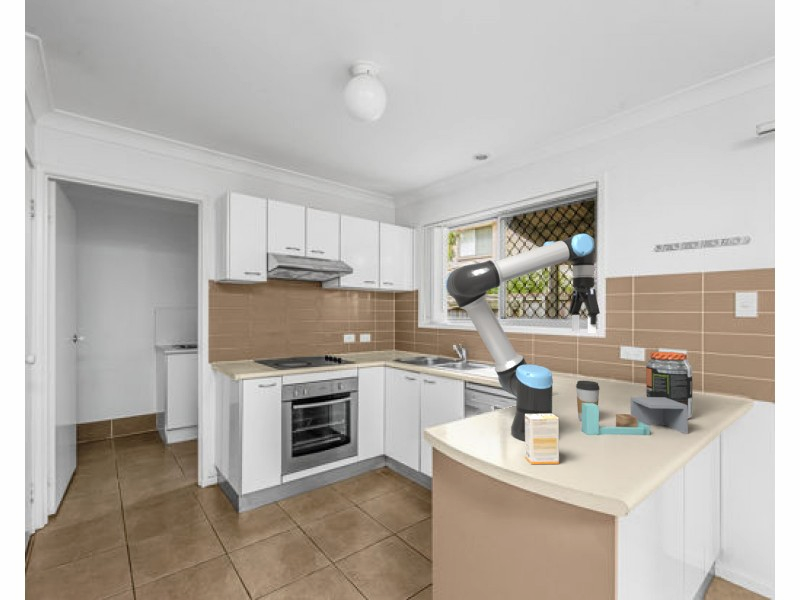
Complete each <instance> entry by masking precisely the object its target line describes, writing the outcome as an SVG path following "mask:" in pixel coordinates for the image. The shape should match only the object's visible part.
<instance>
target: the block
mask: <svg viewBox="0 0 800 600" xmlns="http://www.w3.org/2000/svg"><path fill="white" fill-rule="evenodd" d="M615 427H638V418H637V417H634V416H632V415H631V413H616V414H615Z"/></svg>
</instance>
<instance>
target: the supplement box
mask: <svg viewBox="0 0 800 600" xmlns="http://www.w3.org/2000/svg"><path fill="white" fill-rule="evenodd" d="M559 424H560V423H559V416H556V415H555V414H553V413H552V414H525V441H524V445H525V446H524V451H525V453H524V456H525V460H526V461H527V462H528V463H529V462H530V463H531V464H530V463H529V464H530V465H559V464H560V434H559V432H560V428H559V427H560V425H559Z"/></svg>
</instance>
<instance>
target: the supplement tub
mask: <svg viewBox="0 0 800 600" xmlns="http://www.w3.org/2000/svg"><path fill="white" fill-rule="evenodd" d="M645 365H646V367H645V368H646V369H645V370H646V371H645V372H646V373H645V374H646V375H645V378H646V383H645V384H646V387H645V390H646V395H645V397H665V398H668V399H671V400H674V401H676V402H679V403H682V404H685V405H687V412H688V419H690V418H691V417H693V414H694V413H693V412H694V411H693V405H694V404H693V368H692V366H691V364H690V363H689V362H688V356H687V353H683V352H675V351H650V359H648V361H647V362H646V364H645Z"/></svg>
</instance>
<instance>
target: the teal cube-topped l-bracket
mask: <svg viewBox="0 0 800 600" xmlns="http://www.w3.org/2000/svg"><path fill="white" fill-rule="evenodd" d="M599 407H600V406H599V404H598V405H596V404H594V403H582V421H581V432H582V433H584V434H585V435H587V436H599V435H621V436H622V435H624V436H625V435H626V436H627V435H628V436H631V435H633V436H650V433H651V432H650V431H651V430H650V428H651V427H650V426H649V424H644V423H642V422H640V421H638V427H616V426H599V422H600V421H599V419H600V418H599V417H600V415H599V412H600V411H599Z"/></svg>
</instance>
